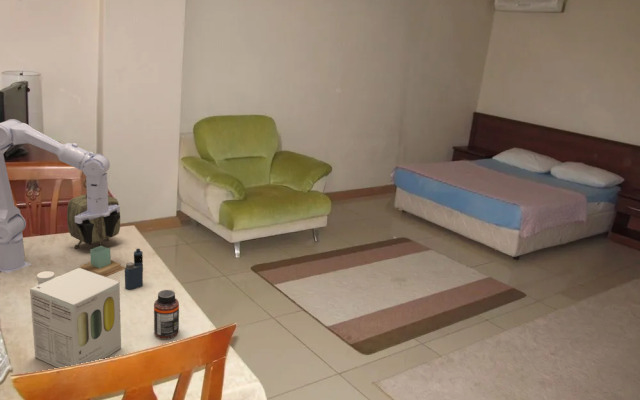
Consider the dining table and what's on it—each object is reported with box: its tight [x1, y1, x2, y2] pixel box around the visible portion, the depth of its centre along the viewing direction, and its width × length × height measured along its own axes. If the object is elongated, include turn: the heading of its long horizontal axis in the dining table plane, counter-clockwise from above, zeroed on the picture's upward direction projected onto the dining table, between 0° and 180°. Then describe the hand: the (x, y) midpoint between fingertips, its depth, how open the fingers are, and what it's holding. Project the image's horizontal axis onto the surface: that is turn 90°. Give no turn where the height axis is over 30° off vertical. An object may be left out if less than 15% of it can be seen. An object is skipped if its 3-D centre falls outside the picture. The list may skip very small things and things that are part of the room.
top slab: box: [79, 260, 122, 276], centre depth 160 cm, size 8×8×2 cm
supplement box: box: [29, 267, 122, 368], centre depth 119 cm, size 13×13×18 cm
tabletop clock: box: [66, 179, 121, 250], centre depth 173 cm, size 14×9×25 cm, turn 144°
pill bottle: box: [34, 270, 55, 287], centre depth 137 cm, size 5×5×10 cm
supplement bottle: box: [153, 289, 180, 340], centre depth 130 cm, size 6×6×11 cm
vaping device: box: [124, 248, 144, 291], centre depth 151 cm, size 3×5×12 cm, turn 137°
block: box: [89, 245, 112, 268], centre depth 160 cm, size 4×4×5 cm
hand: (99, 239), depth 158 cm, fingers open, 7 cm apart
